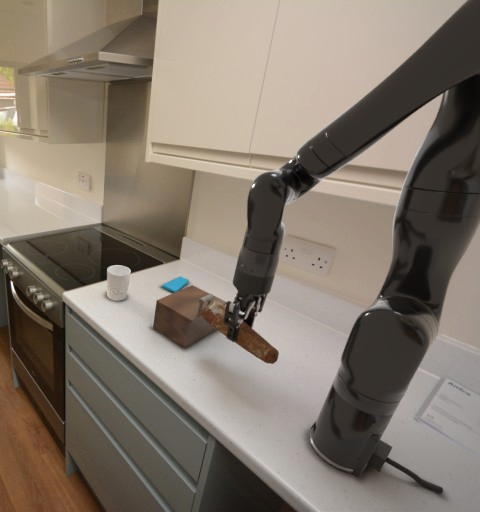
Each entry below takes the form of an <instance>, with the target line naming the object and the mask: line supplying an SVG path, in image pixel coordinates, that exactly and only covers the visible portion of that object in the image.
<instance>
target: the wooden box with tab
mask: <svg viewBox="0 0 480 512" xmlns="http://www.w3.org/2000/svg"><path fill="white" fill-rule="evenodd" d="M215 300H218V301H219V302H220V303H221V304H223V305H224V306H226V303H227V302H228V301H226V300H224V299H222V298H220V297H217V296H216V295H214V294H213V293H209V292H208V291H205V290H203V289H201V288H200V287H197V286H195V285H194V284H191V285H189V286H186V287H183V288H181V289H180V290H179V291H177V292H172V293H169V294H168V295H165V296H163V297H161V298H159V299H156V302H155V304H156V303H158V304H159V305H161V306H163V307H165V308H166V309H168V310H170V311H172V312H173V313H175V314H177V315H178V316H180V317H182V318H184V319H185V320H187V321H189V322H190V323H193V322H195V321H197V320H199V319H201V318H202V317H203V316H202V311H203V309H204V308H205V307H207V306H208V305H209V304H210V303H211V302H212V301H215Z"/></svg>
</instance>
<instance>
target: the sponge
mask: <svg viewBox="0 0 480 512" xmlns="http://www.w3.org/2000/svg"><path fill="white" fill-rule="evenodd" d="M189 281H190V280H189V279H188V278H186V277H183V276H178V277H176V278H174V279H172V280H170V281H168V282H167V281H166V282H165V283H163V284H162V285H161V288H163V289H165V290H166V291H170V292H172V293H175V292H177V291H179V290H182V289H183V288H184V287H185V286H186V285H187V284H188V283H189Z"/></svg>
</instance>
